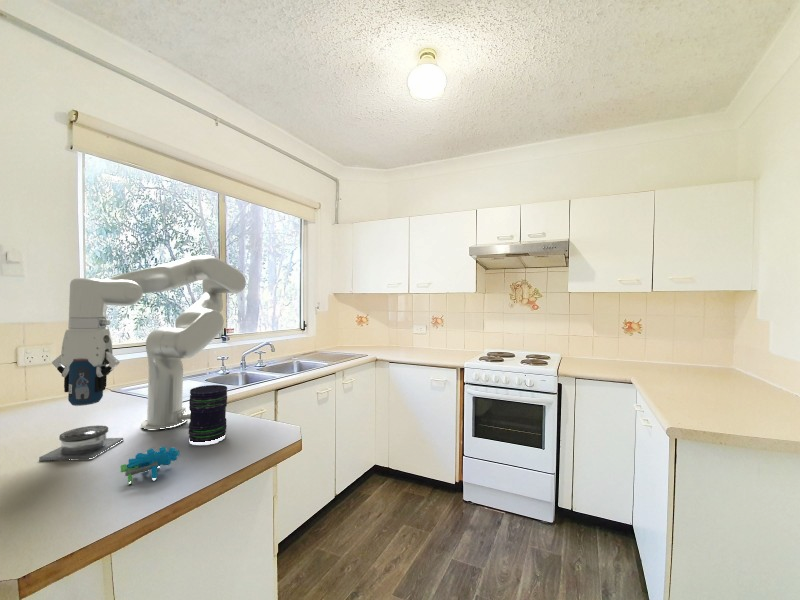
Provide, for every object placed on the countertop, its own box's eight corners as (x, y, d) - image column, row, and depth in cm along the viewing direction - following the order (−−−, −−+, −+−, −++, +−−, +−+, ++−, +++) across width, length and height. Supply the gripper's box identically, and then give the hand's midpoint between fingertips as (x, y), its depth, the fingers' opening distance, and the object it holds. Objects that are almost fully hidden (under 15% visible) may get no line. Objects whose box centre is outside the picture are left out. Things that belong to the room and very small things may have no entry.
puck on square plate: (123, 441, 101) (123, 423, 101) (91, 459, 89) (92, 440, 89) (77, 442, 100) (77, 424, 100) (39, 461, 88) (39, 441, 88)
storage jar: (209, 448, 98) (211, 394, 98) (179, 444, 100) (181, 391, 100) (233, 435, 108) (234, 386, 108) (205, 432, 110) (206, 383, 110)
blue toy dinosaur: (181, 456, 89) (175, 439, 82) (182, 480, 85) (177, 464, 79) (126, 472, 83) (116, 455, 77) (125, 498, 80) (115, 482, 73)
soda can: (96, 397, 99) (97, 355, 100) (107, 401, 96) (108, 357, 96) (63, 403, 93) (65, 358, 94) (74, 408, 90) (75, 360, 90)
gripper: (131, 324, 100) (129, 387, 99) (63, 322, 98) (61, 387, 97) (112, 325, 92) (110, 394, 92) (39, 324, 90) (36, 394, 90)
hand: (85, 390), depth 95 cm, fingers closed on soda can, 6 cm apart
